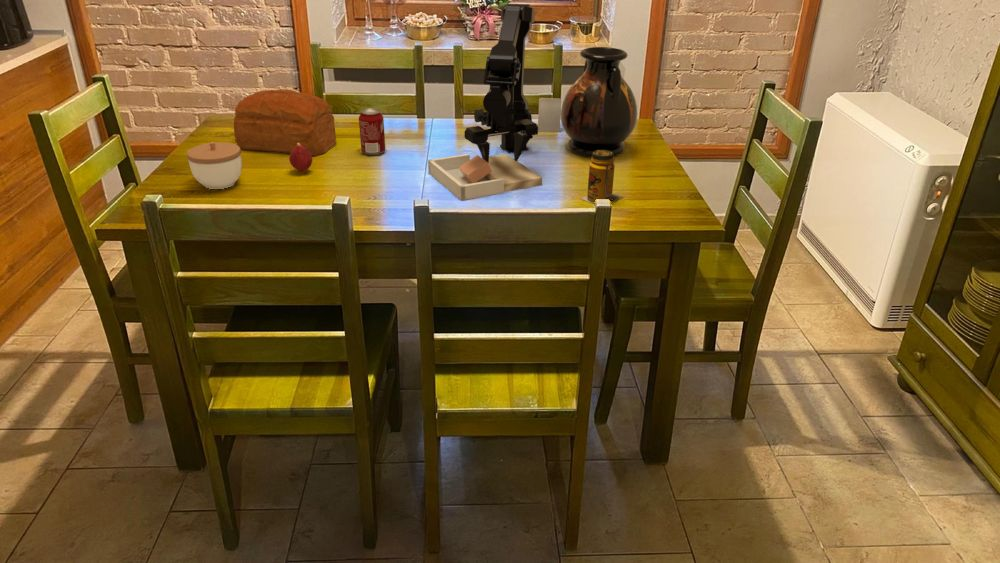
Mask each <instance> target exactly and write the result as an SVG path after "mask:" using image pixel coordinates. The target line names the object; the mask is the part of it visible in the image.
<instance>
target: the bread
mask: <svg viewBox="0 0 1000 563" xmlns="http://www.w3.org/2000/svg"><path fill="white" fill-rule="evenodd" d="M234 113H235V114H234V115H235V116H234V119H233V131H234V132H233V133H234V139H235V140H234V141H235V143H236V145H238V146H239V147H240V149H243V150H250V151H251V150H252V151H253V150H254V151H261V152H276V153H283V154H284V153H285V154H290V153H291V152H292V150H293V149H294V148H295V147H296V146H297V143H300V145H302V146H303V147H305V148H306V149H307V150H308V151H309V152H310V153H311V155H312V156H320V155H323V154H325V153H326V152H328V151H329V150H331V149H332V148H333V147H335V146H336V145H337V136H336V128H335V126H336V125H335V116H334V115H333V113H332V112H331V108H330V104H329V103H328V102H327V101H326V100H325V99H323V98H320V97H319V96H316V95H311V94H309V93H307V92H298V91H296V90H292V89H283V88H281V89H280V88H279V89H270V90H269V89H268V90H267V89H266V90H261V91H255V93H253V94H250V95H247V96H245V98H243V99H241V100H240V101H239V102H238V103H237V105H236V107H235V108H234Z"/></svg>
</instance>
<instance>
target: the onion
mask: <svg viewBox="0 0 1000 563" xmlns="http://www.w3.org/2000/svg"><path fill="white" fill-rule="evenodd" d="M289 163H290V165H291V167H293V168H294V169H295V170H296V171H297V172H300V173H305V172H306V171H307V170H308V169H309V168H310V167H311V166H312V164H313V155H311V153H310V152H309V151H308V150H307V149H306V148H305V147H303V146H302V145H300V143H297V146H296V147H295V148H294V149H293V150H292V152H291V153H289Z"/></svg>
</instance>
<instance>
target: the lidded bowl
mask: <svg viewBox="0 0 1000 563" xmlns="http://www.w3.org/2000/svg"><path fill="white" fill-rule="evenodd" d="M241 151H242V150H241V148H240V147H239V146H238V145H237V143H236V144H235V143H233V142H219V141H218V142H215V141H211V142H209V143H203V144H200V145H196V146H194V147H191V148H189V149H188V150H187V151H186V158H187V160H188V165H189V168H190V170H191V173H192V176H193V177H194V179H195V180H196V181H197V182H198V183H199V184H201V185H202V186H204V188H205V187H206V188H205V189H207V188H209V189H208V190H210V189H222V190H225V189H224V188H227V189H229V188H228V187H230V188H232V187H234V186H235V183H236V182H237V180H239V178H240V175H241V172H242V166H243V165H242V164H243V162H242V161H243V160H242V156H241V154H242V152H241ZM231 186H232V187H231Z"/></svg>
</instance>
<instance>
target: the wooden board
mask: <svg viewBox="0 0 1000 563" xmlns="http://www.w3.org/2000/svg"><path fill="white" fill-rule="evenodd" d="M488 164H489V166H490V168H491V170H492V172H490V173H489V174H487V175H486V176H484V177H485V178H486V179H488V180H495V179H501V178H503V179H504V193H506V192H510V191H511V192H512V191H515V190H522V189H527V188H532V187H538V186H542V185H543V177H542V176H541V175H539V174H538V173H537V172H534V171H533V170H532V169H530V168H528V167H527V166H526V165H524V164H523V163H520V162H519V160H518V161H515V160H514V157H511V156H510V155H508V154H507V153H503V154H498V155H497V154H496V155H491V156H490V155H489V163H488Z"/></svg>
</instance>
